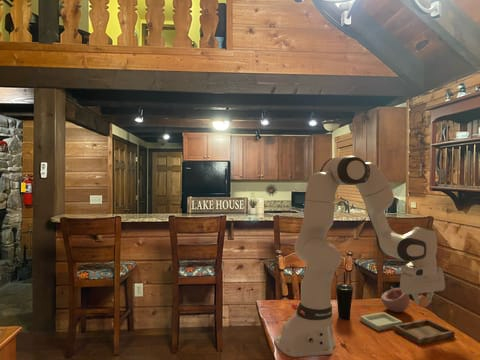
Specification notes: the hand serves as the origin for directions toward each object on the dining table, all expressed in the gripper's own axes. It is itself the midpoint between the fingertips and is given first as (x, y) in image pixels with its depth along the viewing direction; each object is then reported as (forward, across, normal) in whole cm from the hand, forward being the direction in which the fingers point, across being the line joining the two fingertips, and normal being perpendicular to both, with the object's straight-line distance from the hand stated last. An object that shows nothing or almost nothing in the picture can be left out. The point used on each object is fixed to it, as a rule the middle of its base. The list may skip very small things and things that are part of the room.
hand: (422, 303), depth 126 cm
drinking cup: (+13, +19, -23) cm, 33 cm away
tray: (+13, +8, -13) cm, 20 cm away
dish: (+12, -1, 0) cm, 12 cm away
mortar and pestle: (+12, -8, -21) cm, 26 cm away
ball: (-1, 0, 0) cm, 1 cm away
